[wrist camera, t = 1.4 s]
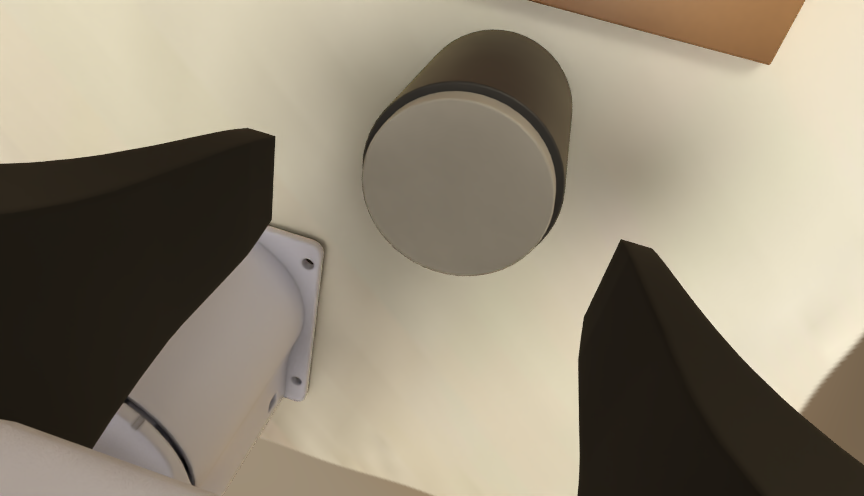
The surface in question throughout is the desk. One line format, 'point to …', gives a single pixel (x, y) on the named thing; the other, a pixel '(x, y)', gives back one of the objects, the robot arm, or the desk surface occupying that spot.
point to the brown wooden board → (700, 21)
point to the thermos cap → (472, 155)
